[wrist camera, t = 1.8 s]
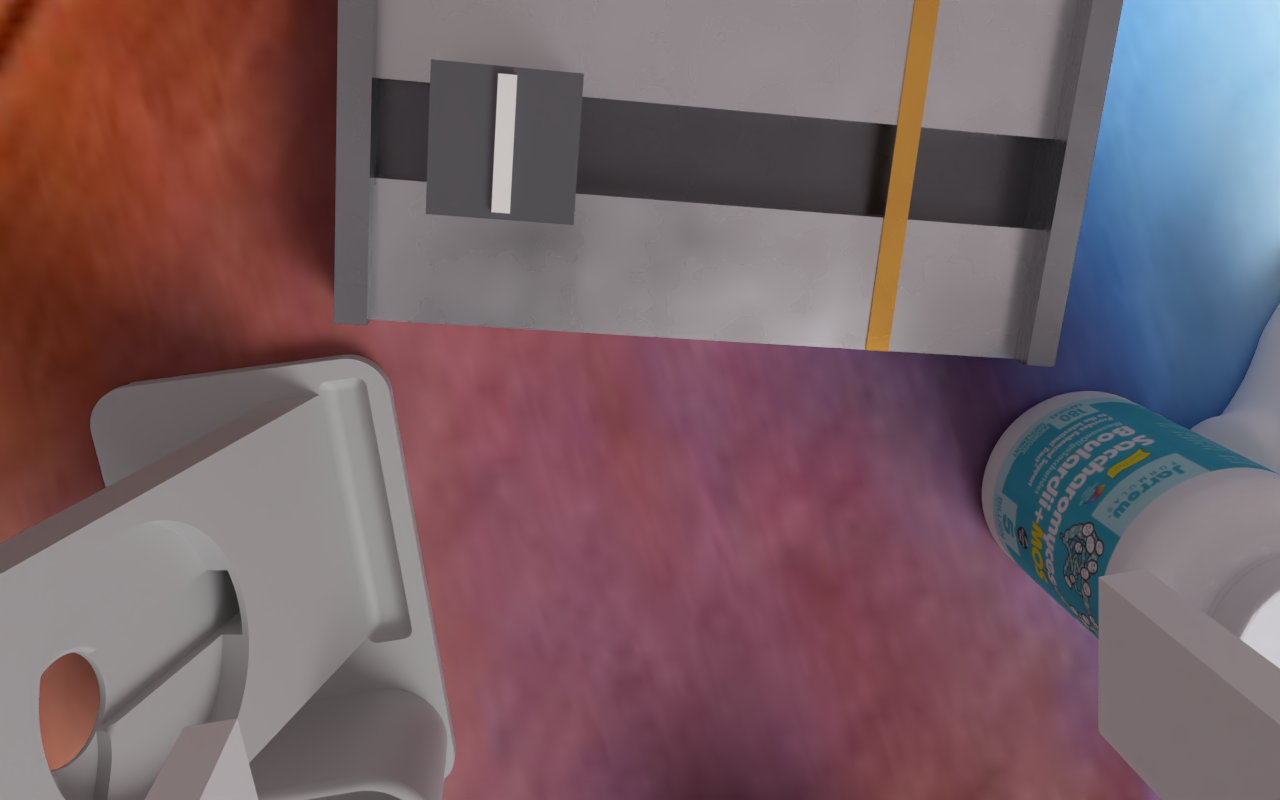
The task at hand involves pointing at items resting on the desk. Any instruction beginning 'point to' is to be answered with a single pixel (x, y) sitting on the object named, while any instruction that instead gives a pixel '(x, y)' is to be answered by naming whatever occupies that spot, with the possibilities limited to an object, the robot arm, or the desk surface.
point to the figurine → (1253, 406)
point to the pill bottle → (1136, 512)
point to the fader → (503, 142)
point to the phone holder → (235, 592)
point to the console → (742, 170)
